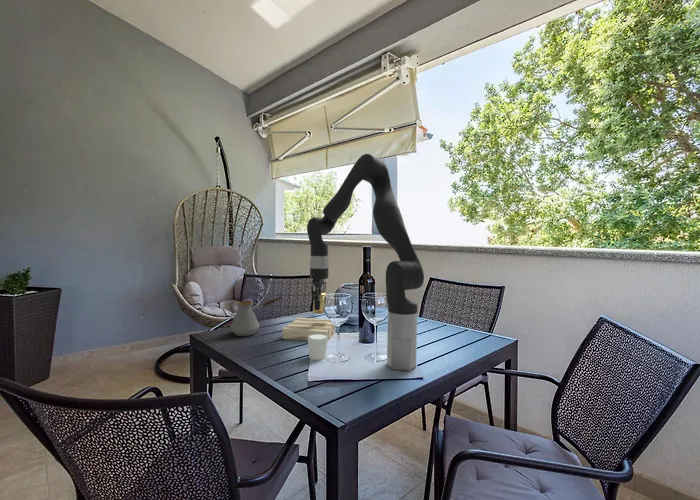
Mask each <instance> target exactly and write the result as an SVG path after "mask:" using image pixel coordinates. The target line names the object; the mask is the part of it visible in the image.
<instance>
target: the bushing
mask: <svg viewBox="0 0 700 500" xmlns="http://www.w3.org/2000/svg"><path fill="white" fill-rule="evenodd" d="M319 293H320V292H319ZM324 295H325V296H326V295H327V293H326V292H324V293H322V294H321V295H320V310H315V309H314V301H313V306H312V309H313V312H312V313H313V314H316V315H323V314H325V309H324V310H323V307H324V308H325V296H324ZM315 296H316V297H317V295H315Z"/></svg>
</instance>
